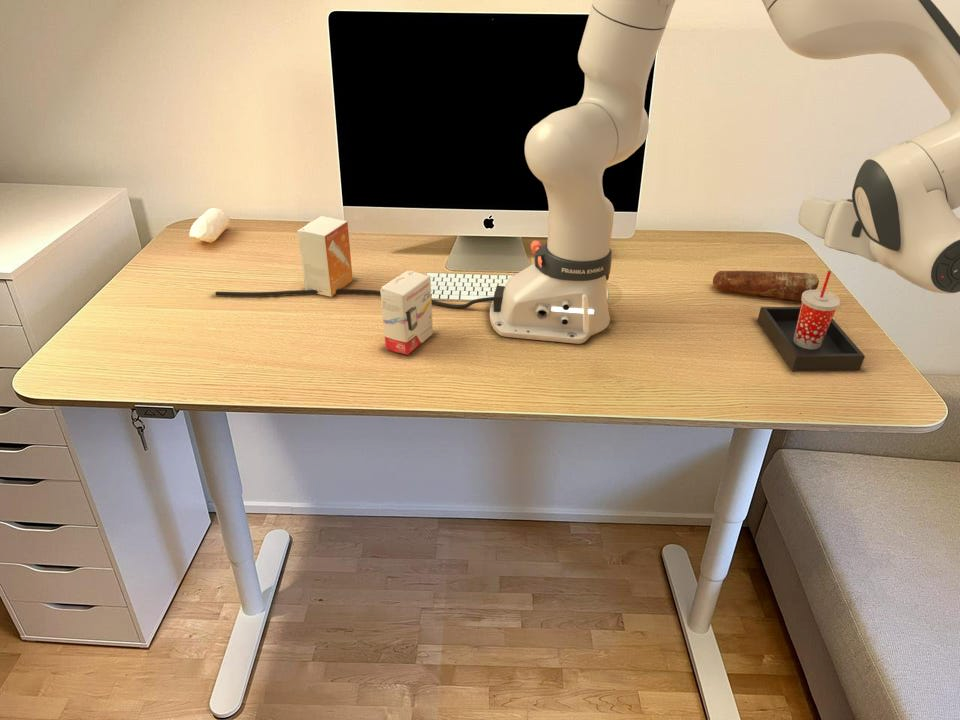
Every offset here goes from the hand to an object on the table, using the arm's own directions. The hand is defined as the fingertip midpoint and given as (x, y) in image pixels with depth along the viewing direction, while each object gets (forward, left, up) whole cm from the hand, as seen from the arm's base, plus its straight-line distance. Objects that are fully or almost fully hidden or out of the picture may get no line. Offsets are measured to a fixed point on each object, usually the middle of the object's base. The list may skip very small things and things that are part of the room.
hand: (853, 210), depth 107 cm
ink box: (-68, +7, -28) cm, 74 cm away
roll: (-115, +50, -28) cm, 129 cm away
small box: (-85, +28, -28) cm, 94 cm away
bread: (+1, +24, -28) cm, 36 cm away
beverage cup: (+2, +5, -27) cm, 28 cm away
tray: (+2, +5, -27) cm, 28 cm away
